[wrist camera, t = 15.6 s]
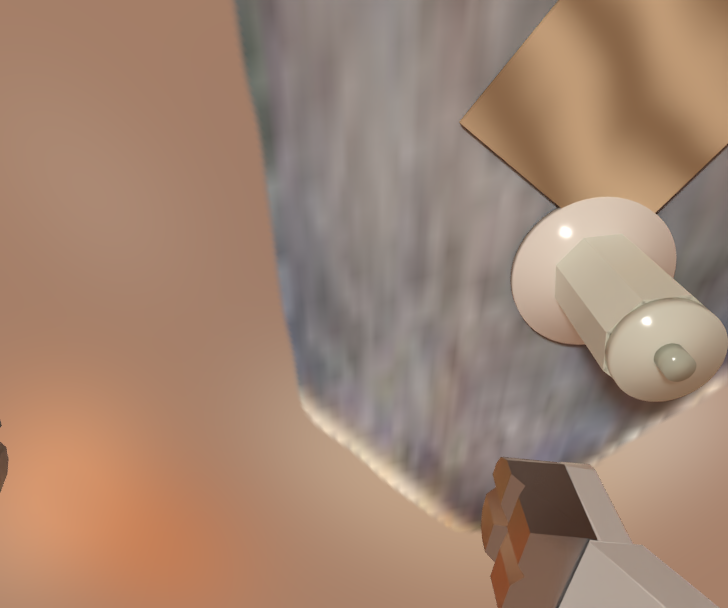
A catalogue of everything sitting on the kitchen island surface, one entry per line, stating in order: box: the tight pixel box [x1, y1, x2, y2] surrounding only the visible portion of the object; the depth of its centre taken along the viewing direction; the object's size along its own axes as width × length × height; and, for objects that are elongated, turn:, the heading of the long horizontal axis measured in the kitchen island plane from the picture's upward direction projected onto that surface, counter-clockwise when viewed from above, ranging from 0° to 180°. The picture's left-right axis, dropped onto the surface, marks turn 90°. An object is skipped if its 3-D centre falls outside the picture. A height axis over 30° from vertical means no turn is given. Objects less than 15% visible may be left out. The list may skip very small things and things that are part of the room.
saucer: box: [510, 197, 676, 345], centre depth 39 cm, size 11×11×1 cm
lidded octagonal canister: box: [555, 234, 728, 402], centre depth 34 cm, size 6×6×11 cm
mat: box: [460, 0, 728, 213], centre depth 34 cm, size 16×14×1 cm
